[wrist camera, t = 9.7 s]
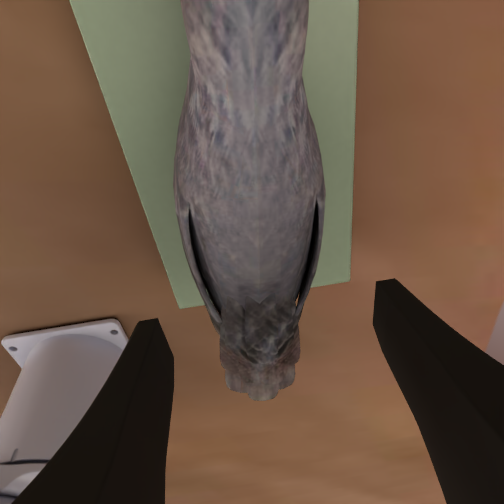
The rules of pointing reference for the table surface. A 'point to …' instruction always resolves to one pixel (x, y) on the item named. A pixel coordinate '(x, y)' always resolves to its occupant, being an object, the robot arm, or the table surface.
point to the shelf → (171, 102)
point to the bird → (250, 183)
